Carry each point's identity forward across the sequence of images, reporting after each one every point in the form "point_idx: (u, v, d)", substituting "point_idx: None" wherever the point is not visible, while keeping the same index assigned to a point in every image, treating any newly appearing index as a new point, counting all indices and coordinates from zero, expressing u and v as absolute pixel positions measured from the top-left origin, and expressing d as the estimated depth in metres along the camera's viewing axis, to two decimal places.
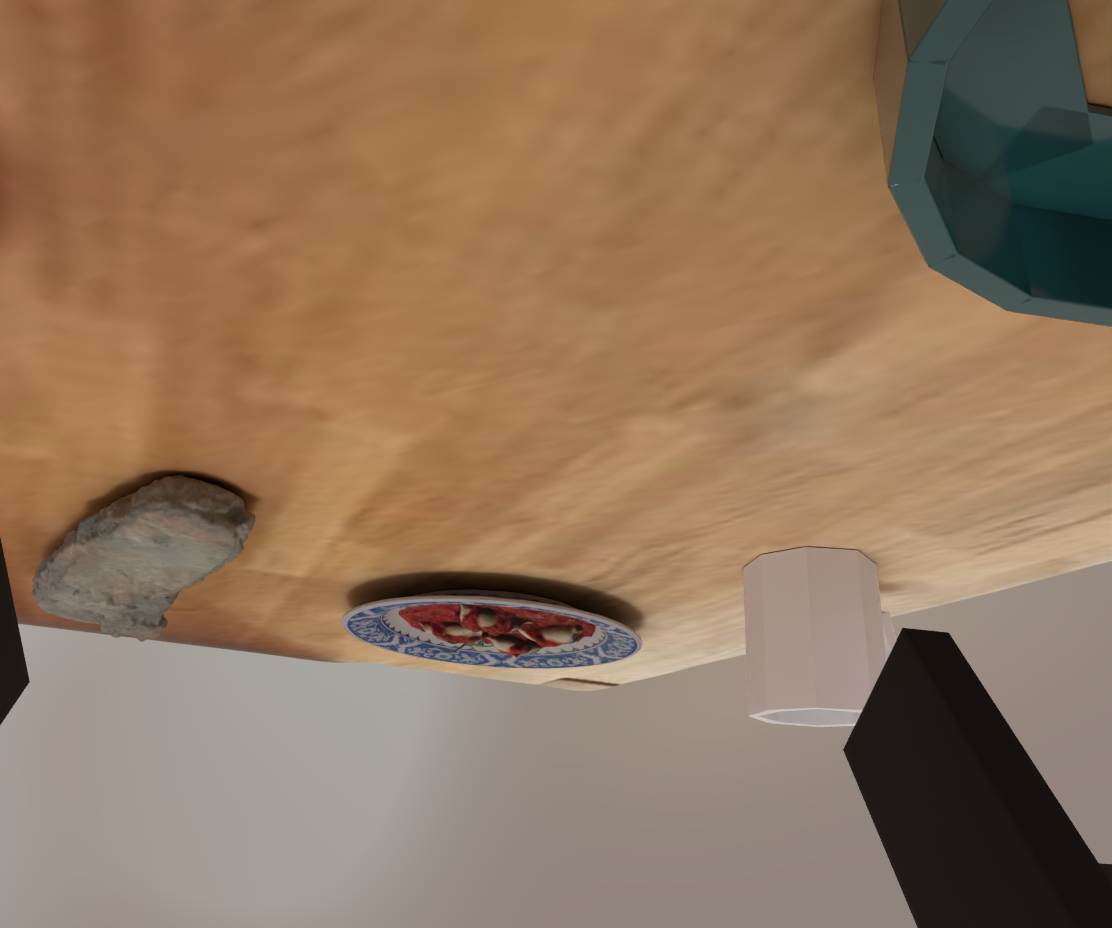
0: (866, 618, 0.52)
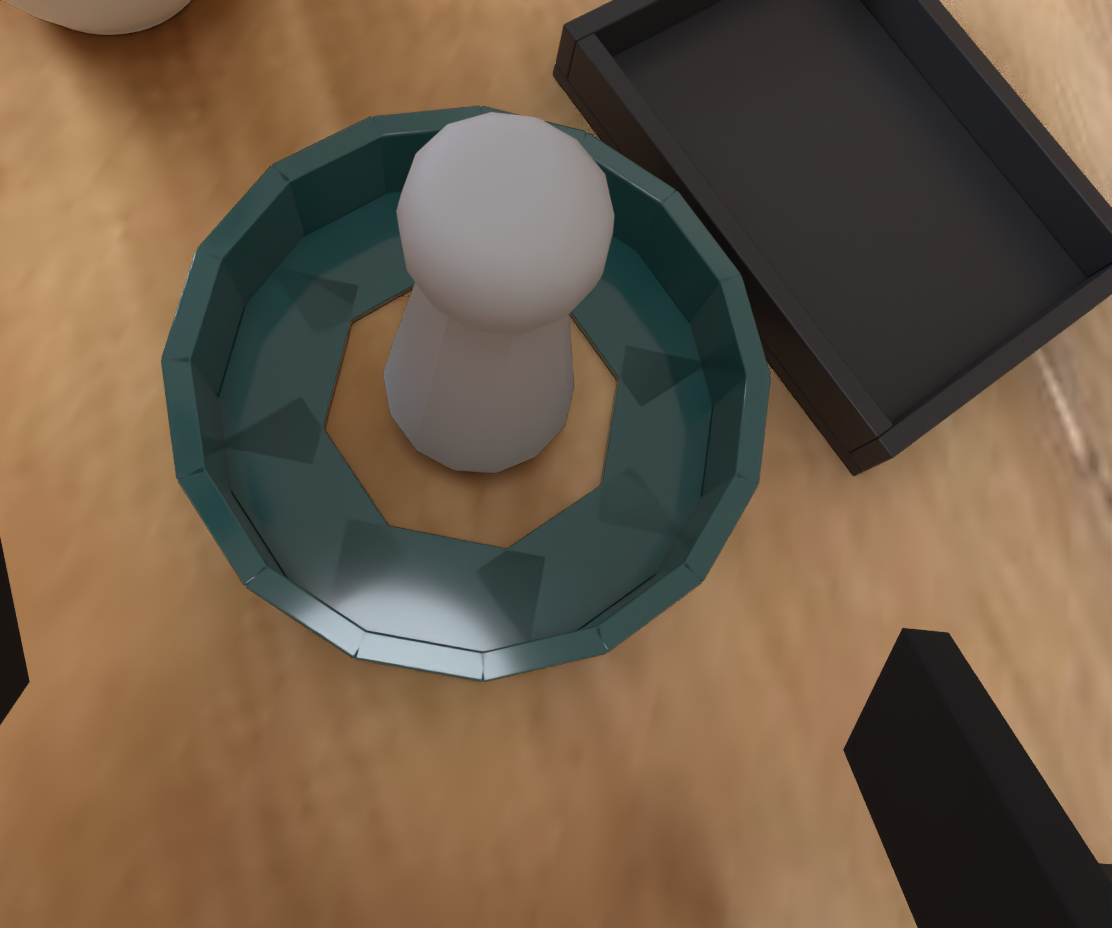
0: None
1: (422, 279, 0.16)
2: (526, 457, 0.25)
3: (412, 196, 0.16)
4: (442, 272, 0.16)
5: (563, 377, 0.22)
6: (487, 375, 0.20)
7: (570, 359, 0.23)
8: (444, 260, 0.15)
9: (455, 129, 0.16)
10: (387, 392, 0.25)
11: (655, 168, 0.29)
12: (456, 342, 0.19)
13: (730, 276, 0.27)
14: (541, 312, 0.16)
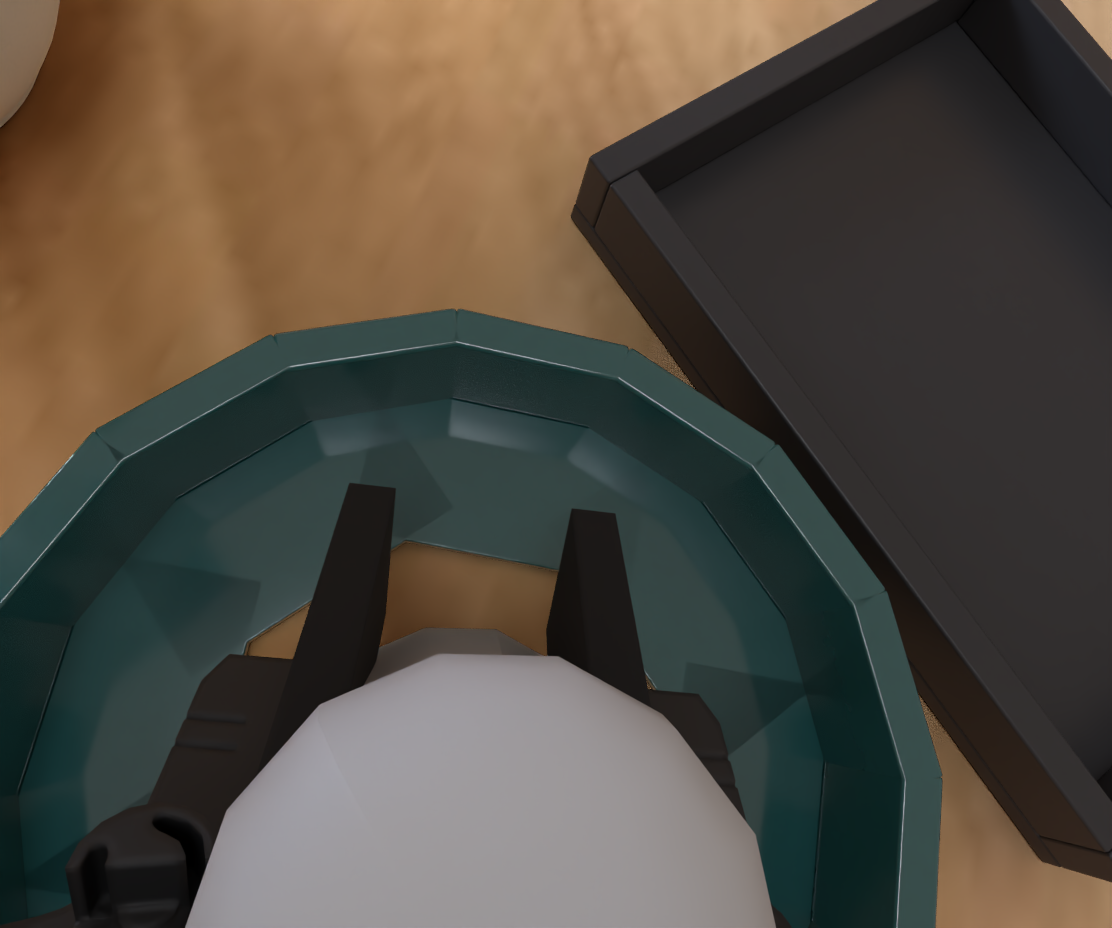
0: None
1: None
2: None
3: None
4: None
5: None
6: None
7: None
8: None
9: (331, 781, 0.05)
10: None
11: (732, 381, 0.19)
12: None
13: (870, 595, 0.16)
14: None
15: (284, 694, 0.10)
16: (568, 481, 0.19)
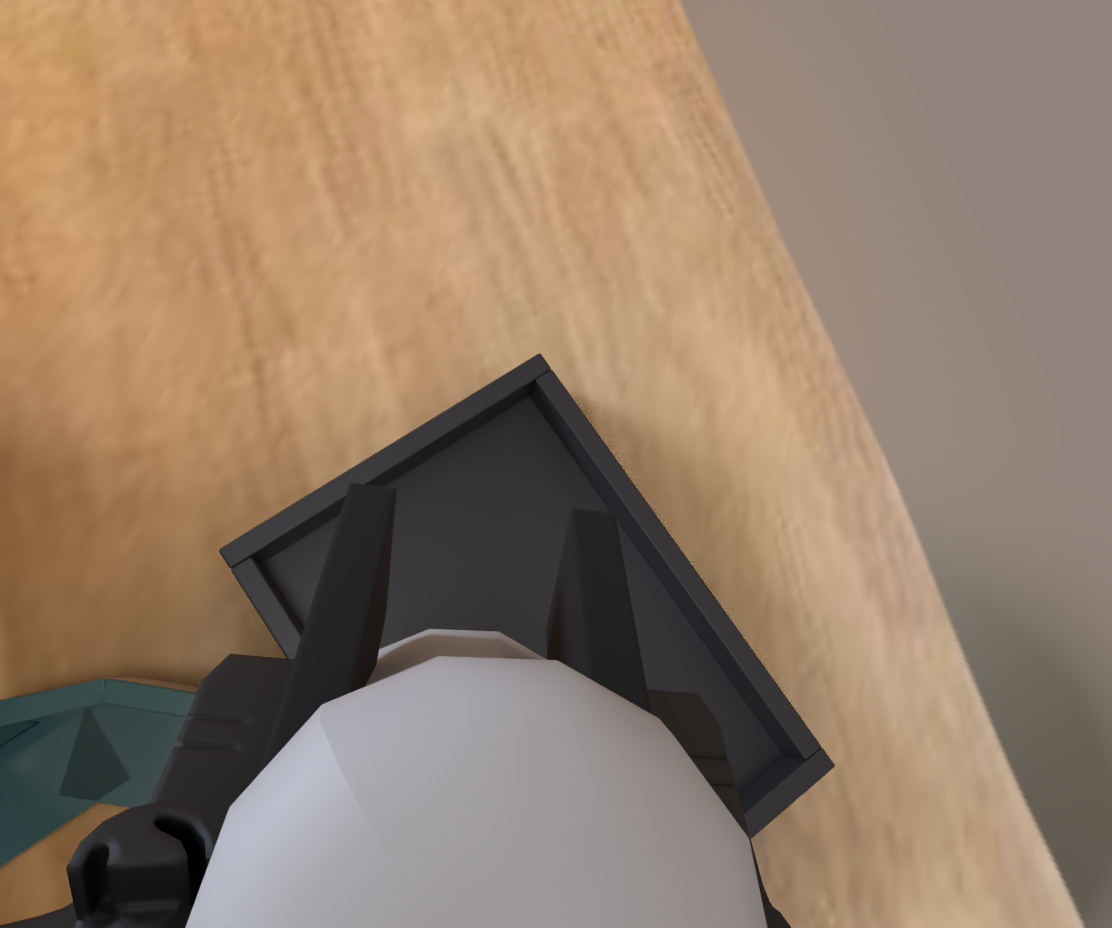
0: None
1: None
2: None
3: None
4: None
5: None
6: None
7: None
8: None
9: (332, 780, 0.06)
10: None
11: None
12: None
13: None
14: None
15: (285, 694, 0.10)
16: None
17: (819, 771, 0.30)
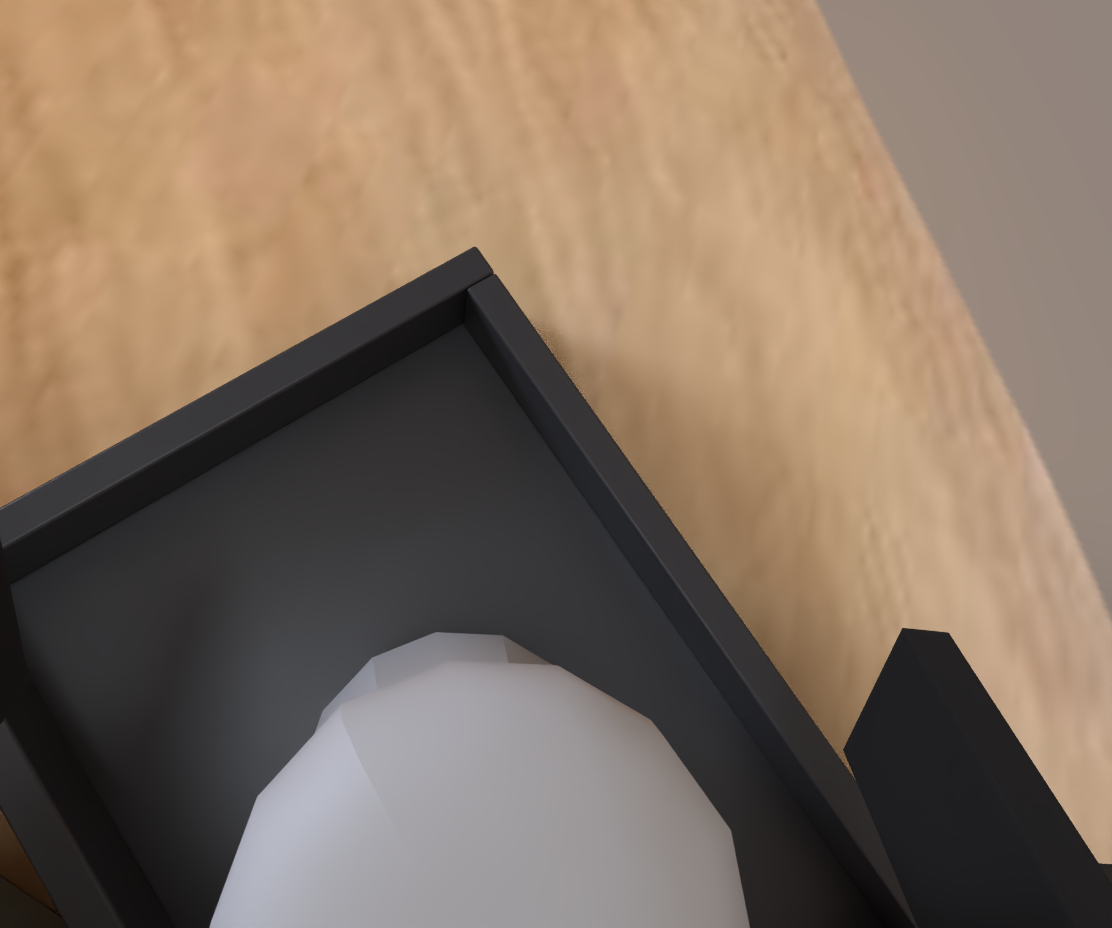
0: None
1: None
2: None
3: None
4: None
5: None
6: None
7: None
8: None
9: (353, 772, 0.06)
10: None
11: None
12: None
13: None
14: None
15: None
16: None
17: None
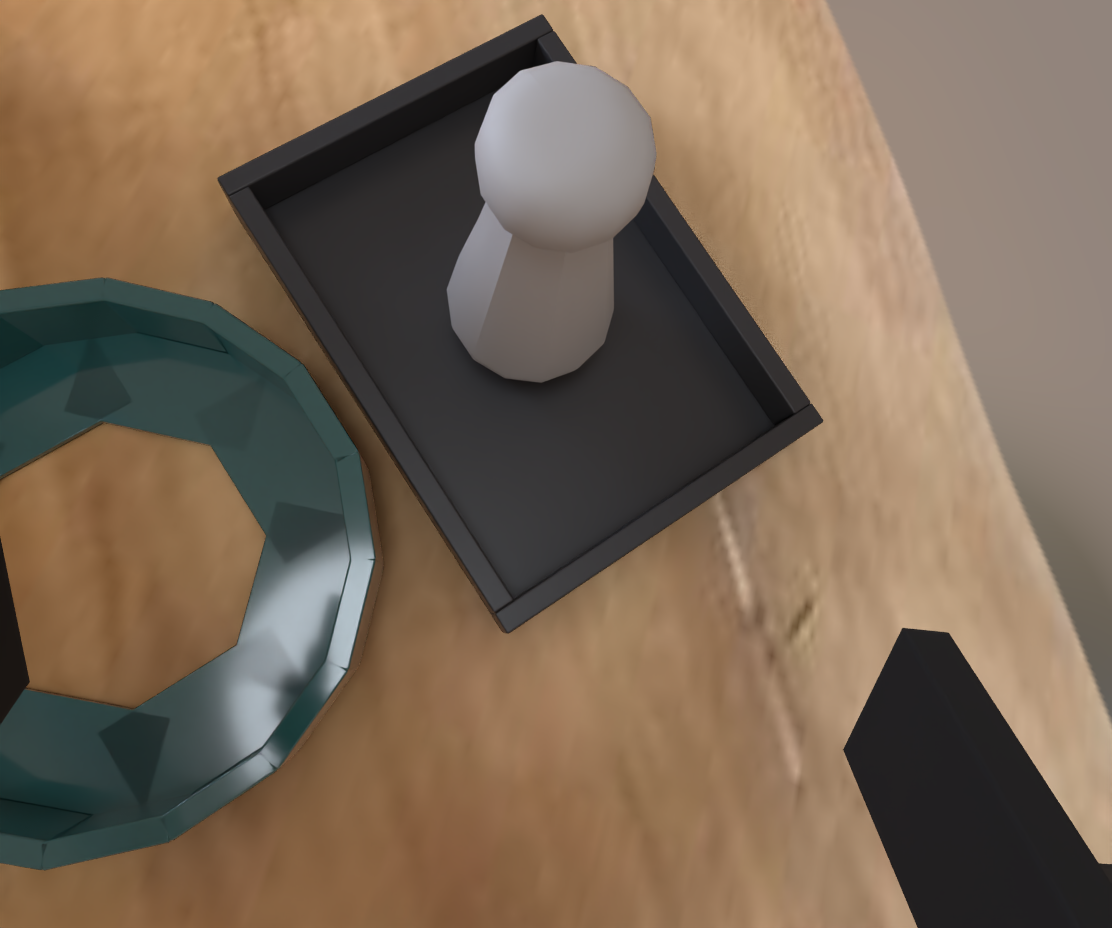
0: None
1: (494, 202, 0.20)
2: (569, 369, 0.29)
3: (489, 131, 0.19)
4: (512, 195, 0.19)
5: (605, 297, 0.26)
6: (541, 290, 0.24)
7: (612, 282, 0.27)
8: (514, 185, 0.19)
9: (527, 75, 0.19)
10: (450, 306, 0.29)
11: (308, 325, 0.29)
12: (516, 259, 0.23)
13: (346, 454, 0.27)
14: (591, 233, 0.20)
15: None
16: (210, 387, 0.30)
17: (807, 424, 0.30)
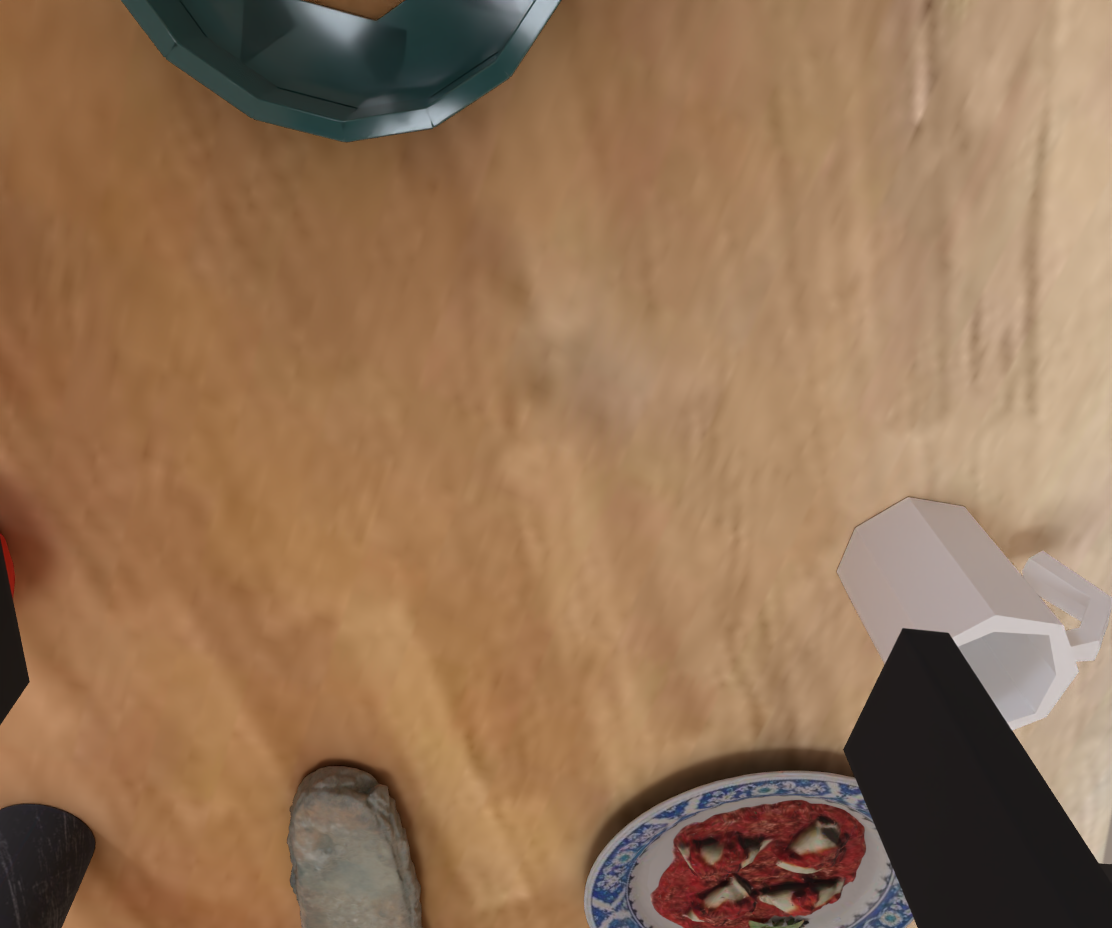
0: (950, 543, 0.43)
1: None
2: None
3: None
4: None
5: None
6: None
7: None
8: None
9: None
10: None
11: None
12: None
13: None
14: None
15: None
16: None
17: None
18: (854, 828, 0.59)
